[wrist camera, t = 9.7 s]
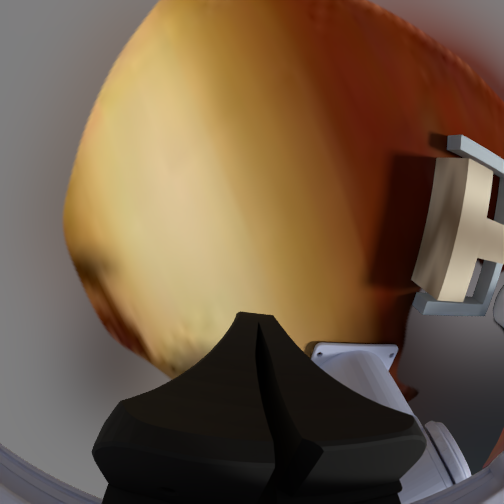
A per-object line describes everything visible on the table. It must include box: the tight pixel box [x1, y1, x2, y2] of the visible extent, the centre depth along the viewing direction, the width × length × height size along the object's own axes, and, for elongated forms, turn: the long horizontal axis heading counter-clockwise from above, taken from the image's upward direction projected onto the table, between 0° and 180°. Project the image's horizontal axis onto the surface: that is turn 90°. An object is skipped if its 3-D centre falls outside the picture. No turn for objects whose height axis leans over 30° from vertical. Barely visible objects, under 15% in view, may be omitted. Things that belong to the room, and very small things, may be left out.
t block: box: [411, 158, 504, 302], centre depth 17 cm, size 10×9×4 cm
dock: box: [412, 135, 504, 316], centre depth 18 cm, size 14×9×2 cm, turn 172°
